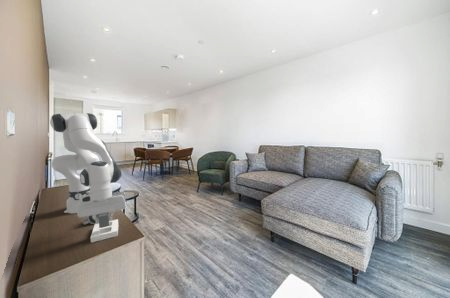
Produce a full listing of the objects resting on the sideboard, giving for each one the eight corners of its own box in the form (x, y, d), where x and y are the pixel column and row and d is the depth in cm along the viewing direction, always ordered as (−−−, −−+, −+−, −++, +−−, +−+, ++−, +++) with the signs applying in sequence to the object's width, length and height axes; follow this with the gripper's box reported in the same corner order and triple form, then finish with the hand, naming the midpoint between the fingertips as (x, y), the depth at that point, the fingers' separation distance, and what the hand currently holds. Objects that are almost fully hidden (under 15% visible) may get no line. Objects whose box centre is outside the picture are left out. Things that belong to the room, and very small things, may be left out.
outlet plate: (95, 228, 102) (94, 224, 101) (118, 223, 107) (118, 219, 107) (90, 242, 88) (90, 237, 87) (117, 235, 93) (117, 231, 93)
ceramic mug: (105, 217, 116) (103, 205, 116) (104, 222, 109) (103, 209, 109) (83, 222, 111) (82, 209, 110) (82, 227, 104) (80, 214, 103)
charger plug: (100, 224, 95) (99, 213, 94) (109, 222, 96) (108, 211, 96) (99, 228, 91) (98, 216, 91) (108, 225, 93) (108, 214, 93)
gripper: (125, 189, 100) (127, 214, 101) (77, 196, 91) (80, 224, 92) (125, 192, 95) (127, 218, 96) (74, 200, 85) (77, 229, 86)
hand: (104, 221), depth 94 cm, fingers closed on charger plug, 4 cm apart
